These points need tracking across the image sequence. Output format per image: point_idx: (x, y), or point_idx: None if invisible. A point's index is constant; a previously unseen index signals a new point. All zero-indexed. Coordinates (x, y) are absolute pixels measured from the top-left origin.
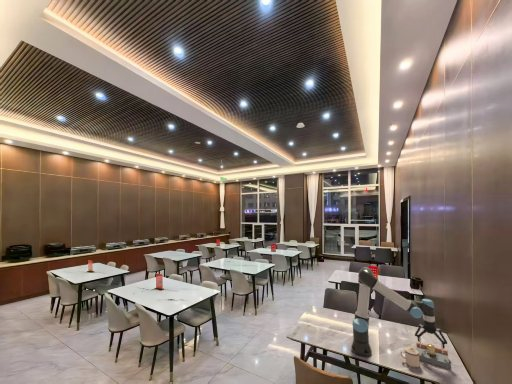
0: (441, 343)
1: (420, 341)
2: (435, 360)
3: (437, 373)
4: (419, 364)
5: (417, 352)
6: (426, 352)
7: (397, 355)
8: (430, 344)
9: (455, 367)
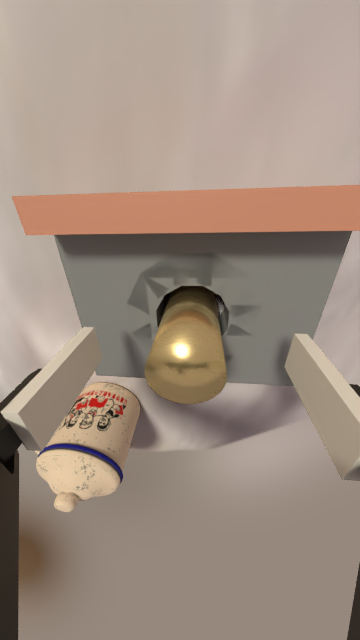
0: (354, 470)
1: (68, 407)
2: None
3: (213, 419)
4: (138, 415)
5: (110, 487)
6: (152, 310)
7: (29, 370)
8: (180, 354)
9: (334, 322)
